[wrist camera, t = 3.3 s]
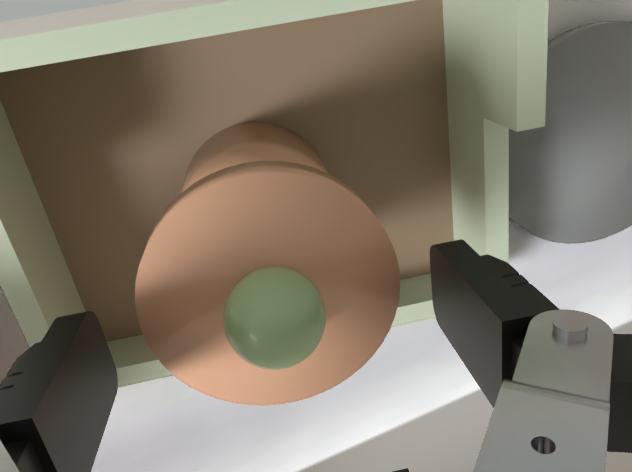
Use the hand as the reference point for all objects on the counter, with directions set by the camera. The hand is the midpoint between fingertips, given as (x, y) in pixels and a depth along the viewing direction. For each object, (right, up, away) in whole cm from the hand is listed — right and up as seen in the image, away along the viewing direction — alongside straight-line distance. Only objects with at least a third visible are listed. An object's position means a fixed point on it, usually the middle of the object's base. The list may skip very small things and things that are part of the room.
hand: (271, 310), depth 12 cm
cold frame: (-1, +4, +7) cm, 8 cm away
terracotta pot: (-1, +3, +6) cm, 7 cm away
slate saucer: (+12, +6, +8) cm, 15 cm away
